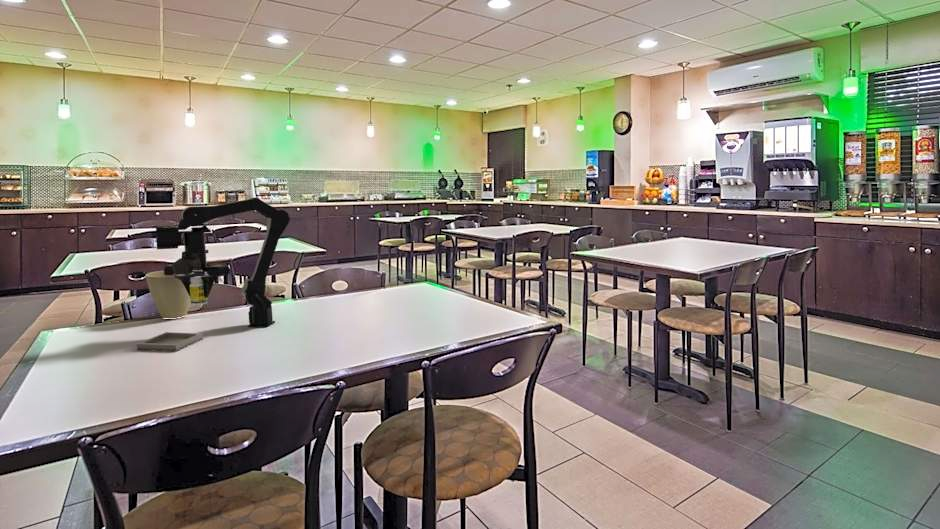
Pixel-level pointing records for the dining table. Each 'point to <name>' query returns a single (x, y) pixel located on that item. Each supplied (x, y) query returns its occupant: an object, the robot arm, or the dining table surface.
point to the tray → (170, 341)
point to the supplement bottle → (197, 291)
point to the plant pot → (168, 294)
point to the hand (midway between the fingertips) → (198, 297)
